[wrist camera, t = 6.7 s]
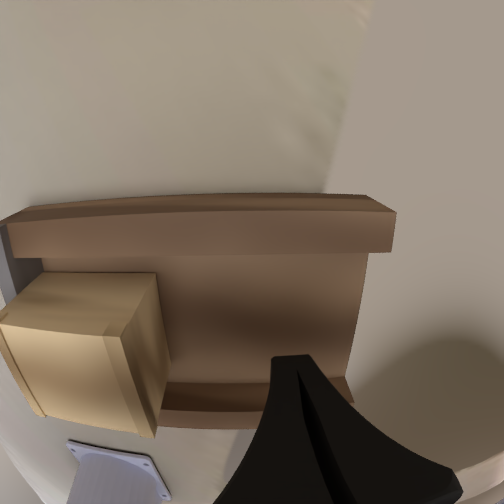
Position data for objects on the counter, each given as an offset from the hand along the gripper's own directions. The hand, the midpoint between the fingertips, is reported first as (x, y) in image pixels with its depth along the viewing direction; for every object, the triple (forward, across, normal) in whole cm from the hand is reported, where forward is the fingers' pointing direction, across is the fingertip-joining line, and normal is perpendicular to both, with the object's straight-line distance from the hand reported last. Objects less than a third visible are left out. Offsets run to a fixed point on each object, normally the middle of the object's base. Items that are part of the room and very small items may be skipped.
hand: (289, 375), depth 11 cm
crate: (+3, +8, 0) cm, 9 cm away
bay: (+4, +4, 0) cm, 6 cm away
